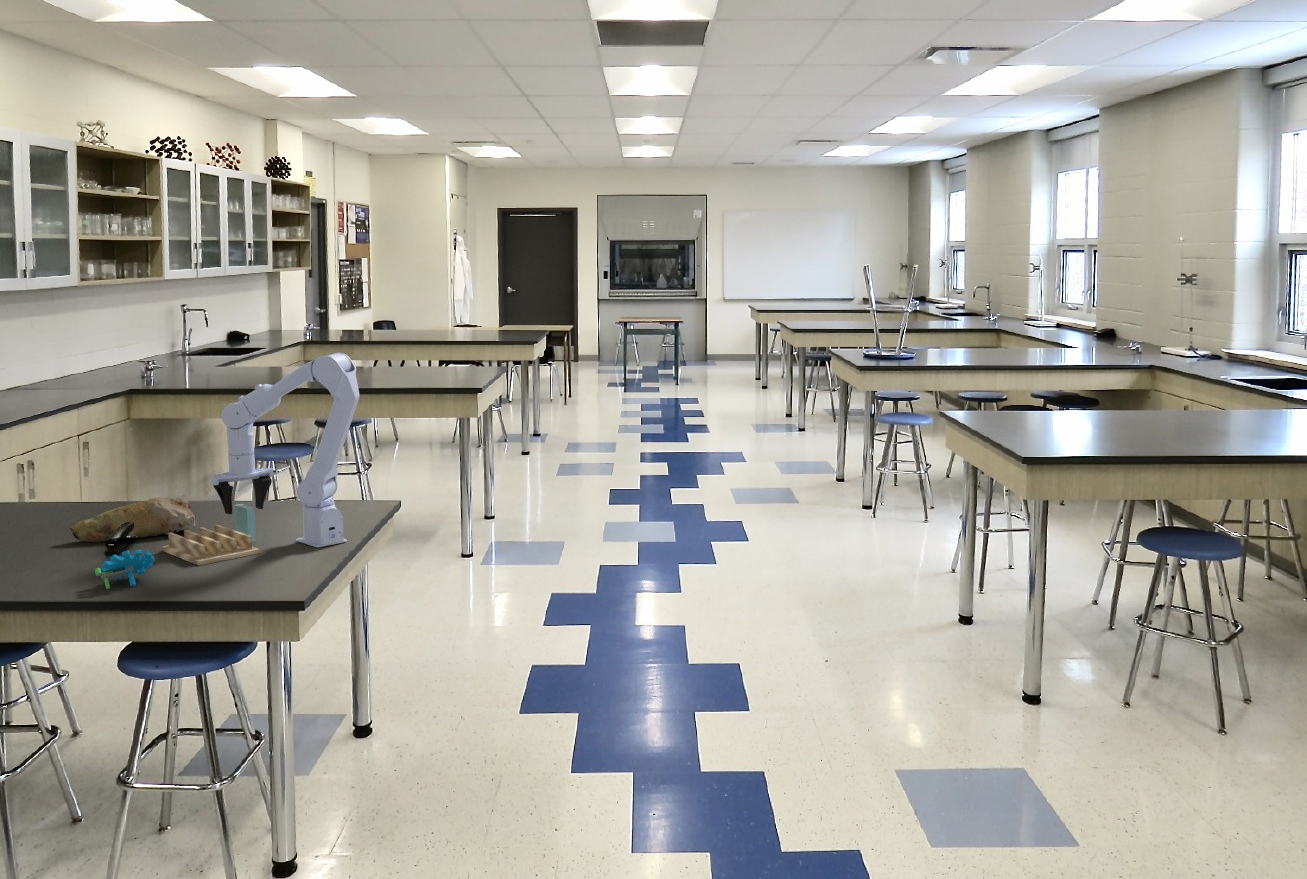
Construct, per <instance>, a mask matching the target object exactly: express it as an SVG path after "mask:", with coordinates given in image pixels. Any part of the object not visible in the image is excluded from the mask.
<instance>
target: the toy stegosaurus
mask: <svg viewBox="0 0 1307 879" xmlns="http://www.w3.org/2000/svg"><path fill="white" fill-rule="evenodd" d="M133 552H134V555H133V554H131V553H130V551H129V550H125V551H123V552H121V554H122V556H120V555H117V554H113V555H112V556H110V560H104V561H103V567H96V568H95V569H94V573H95V576H96V577H100V579H101V581H104V585H105V588H106V589H105V590H110V589H111V586H110V580H113V579H114V580H115V581H121V580H122V579H123V578H122V577H125V576H126V579H127V580H128V582H129V584H130V587H131V586H133V587H136V586H137V583H136V579H135V574H138V575H139V576H143V575H144V574H145V573H146V570H150V569H152V568H153V563H155V562H156V560H155V557H154V556H153V555H152V552H151V551H144V553H143V552H142V549H134V551H133ZM141 555H142V556H141ZM145 569H146V570H145ZM128 578H129V579H128Z"/></svg>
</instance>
